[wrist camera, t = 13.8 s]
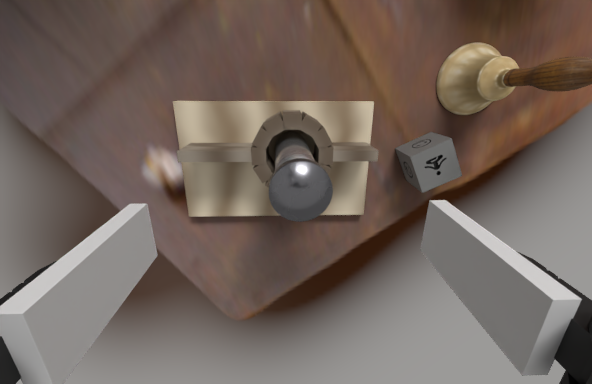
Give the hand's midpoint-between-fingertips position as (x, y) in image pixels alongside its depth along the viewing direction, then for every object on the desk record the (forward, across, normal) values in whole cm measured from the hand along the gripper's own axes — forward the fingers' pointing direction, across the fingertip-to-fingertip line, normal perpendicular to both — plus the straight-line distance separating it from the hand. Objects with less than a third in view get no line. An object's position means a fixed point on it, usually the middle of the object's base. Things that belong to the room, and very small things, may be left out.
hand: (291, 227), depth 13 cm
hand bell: (+25, +23, +7) cm, 34 cm away
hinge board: (+25, -1, -3) cm, 25 cm away
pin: (+24, +1, -1) cm, 24 cm away
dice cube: (+25, +18, -3) cm, 31 cm away
